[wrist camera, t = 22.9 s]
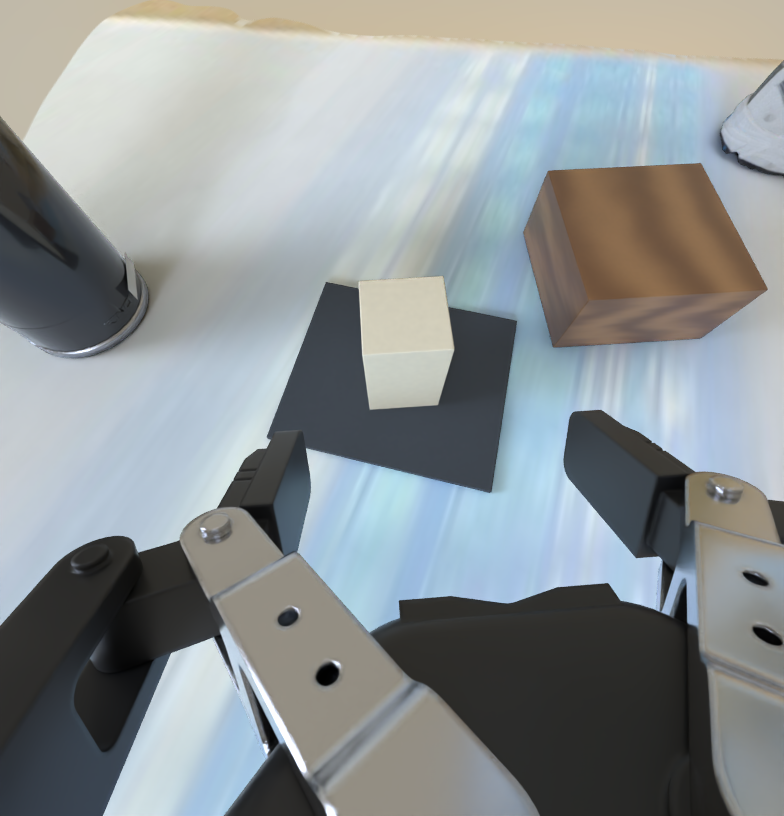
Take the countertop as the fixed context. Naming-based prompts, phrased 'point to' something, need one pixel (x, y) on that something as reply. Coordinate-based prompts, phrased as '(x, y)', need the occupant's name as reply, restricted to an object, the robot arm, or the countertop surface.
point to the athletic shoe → (759, 127)
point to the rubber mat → (409, 426)
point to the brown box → (636, 255)
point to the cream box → (405, 340)
